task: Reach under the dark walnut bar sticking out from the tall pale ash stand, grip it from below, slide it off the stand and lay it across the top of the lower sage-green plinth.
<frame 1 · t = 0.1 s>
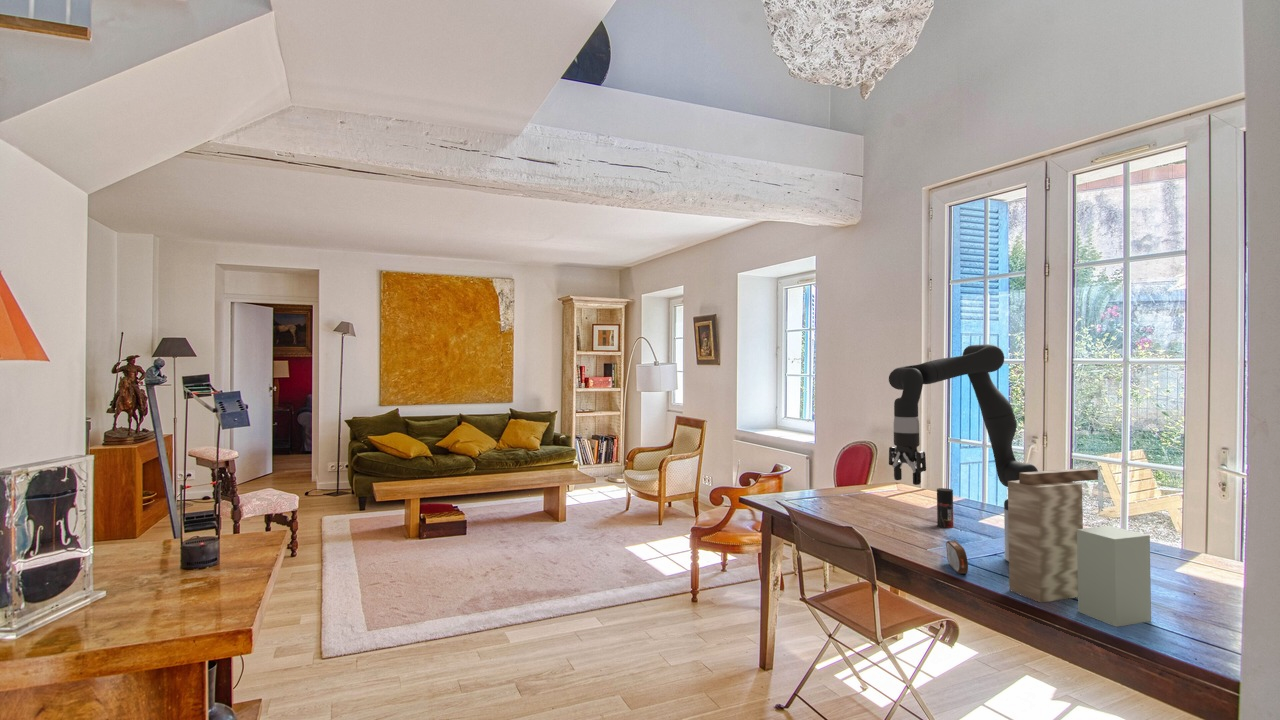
hand: (907, 482, 196), 29 cm above the table, tool pointing down, fingers open, 8 cm apart
deodorant: (945, 526, 255), on the table
green plinth: (1114, 616, 163), on the table
walnut bar: (1059, 481, 181), point 32 cm above the table, touching ash stand
tin: (956, 570, 201), on the table
ash stand: (1046, 593, 180), on the table
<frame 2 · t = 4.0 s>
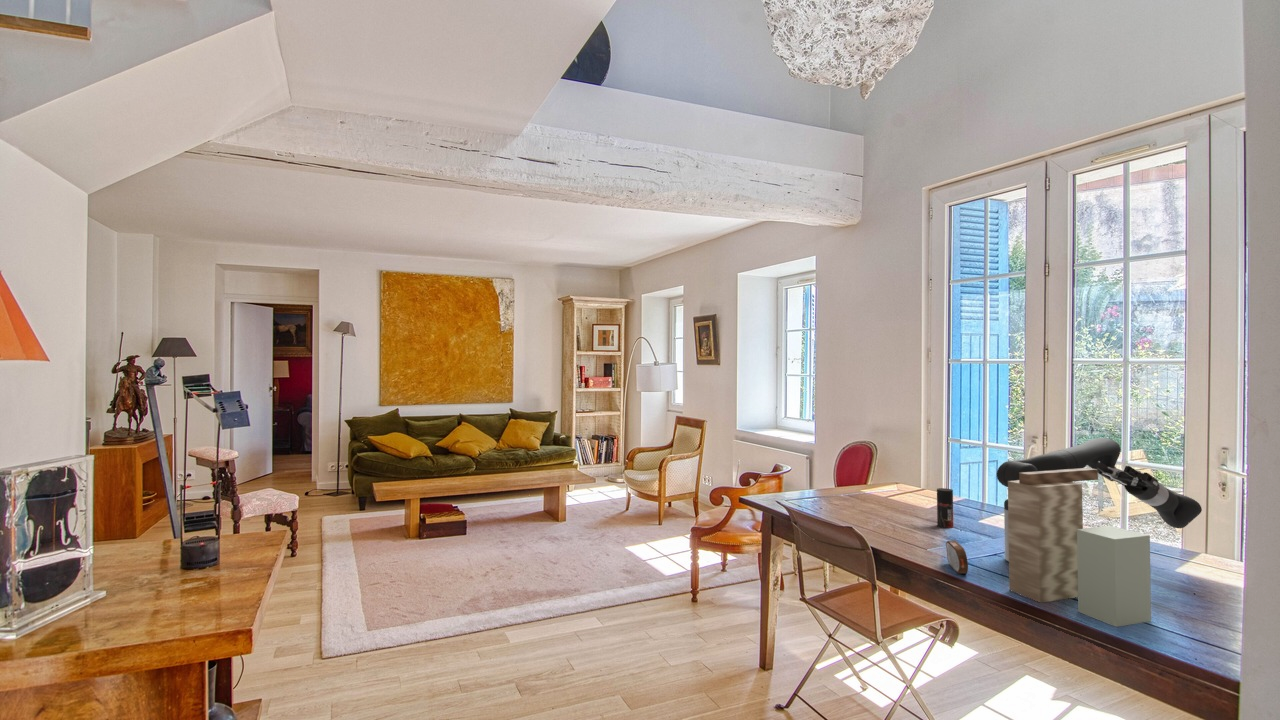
hand: (1111, 466, 188), 35 cm above the table, tool pointing upward, fingers open, 8 cm apart
nothing on the table moved.
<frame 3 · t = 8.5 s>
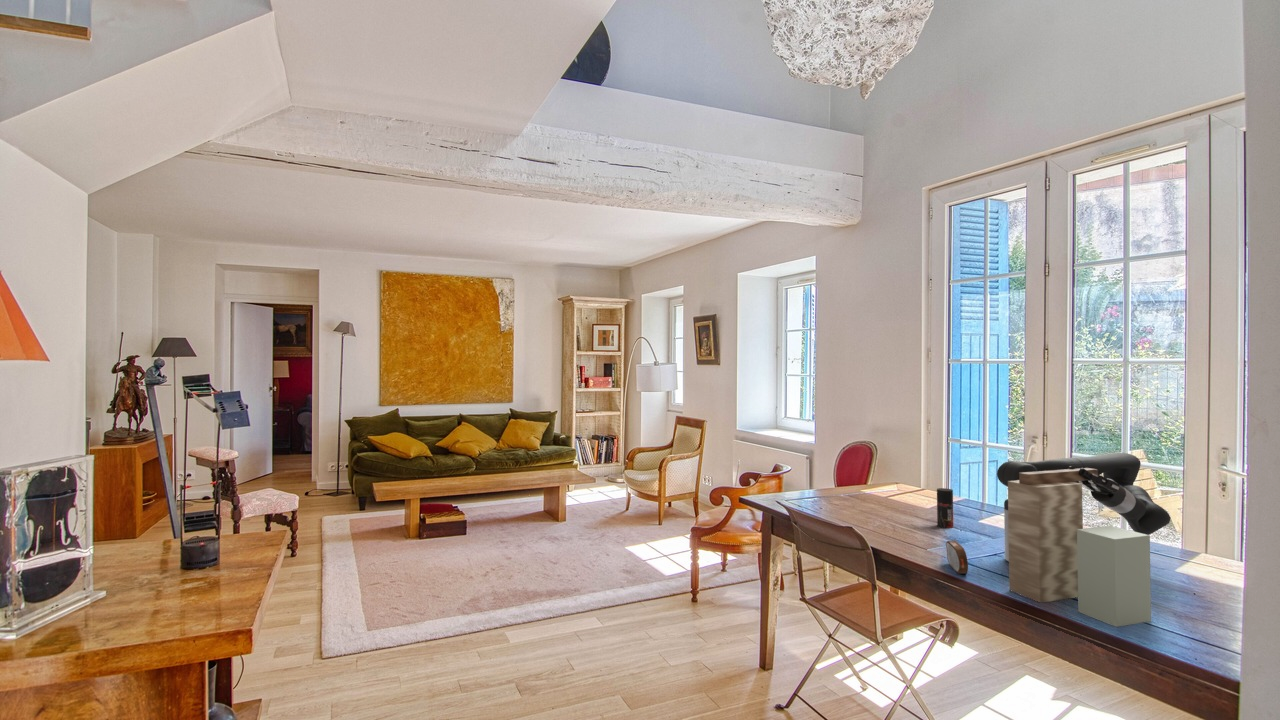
hand: (1074, 470, 183), 35 cm above the table, tool pointing upward, fingers closed on walnut bar, 3 cm apart
walnut bar: (1059, 481, 181), point 32 cm above the table, touching ash stand, gripper
everything else where it was.
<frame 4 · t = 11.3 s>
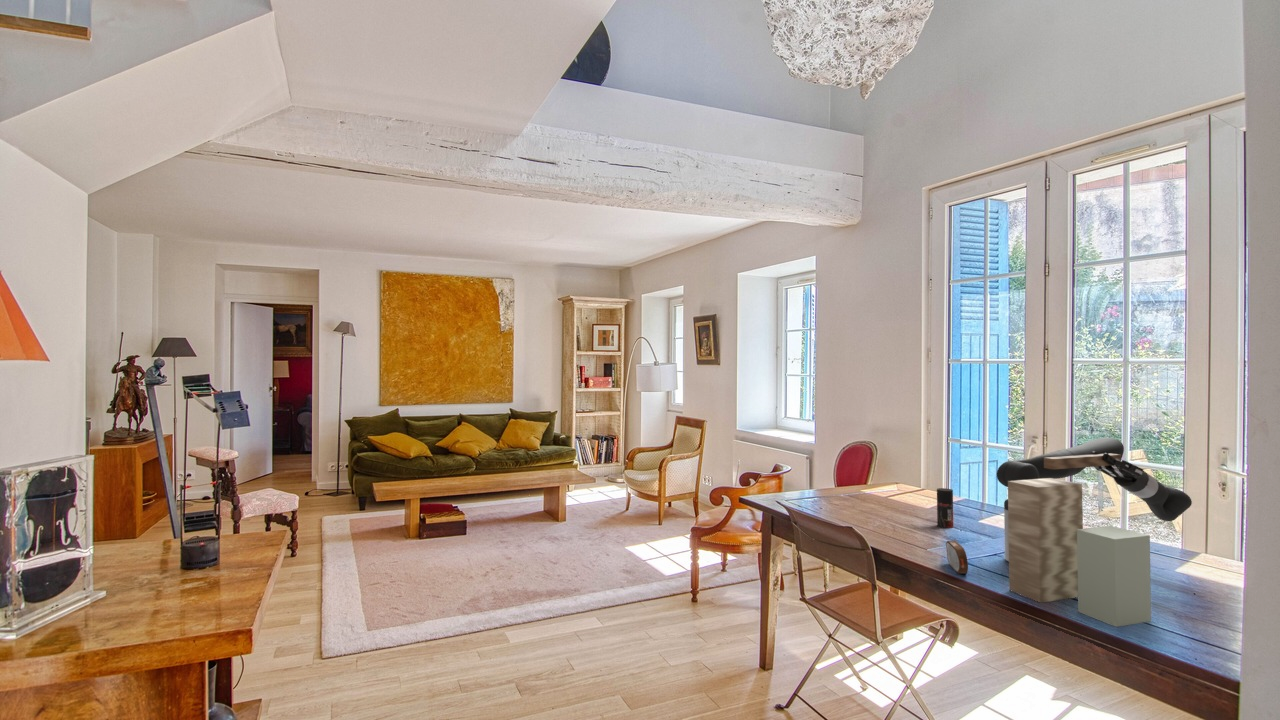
hand: (1098, 455, 186), 39 cm above the table, tool pointing upward, fingers closed on walnut bar, 3 cm apart
walnut bar: (1082, 466, 184), point 36 cm above the table, touching gripper
everything else where it was.
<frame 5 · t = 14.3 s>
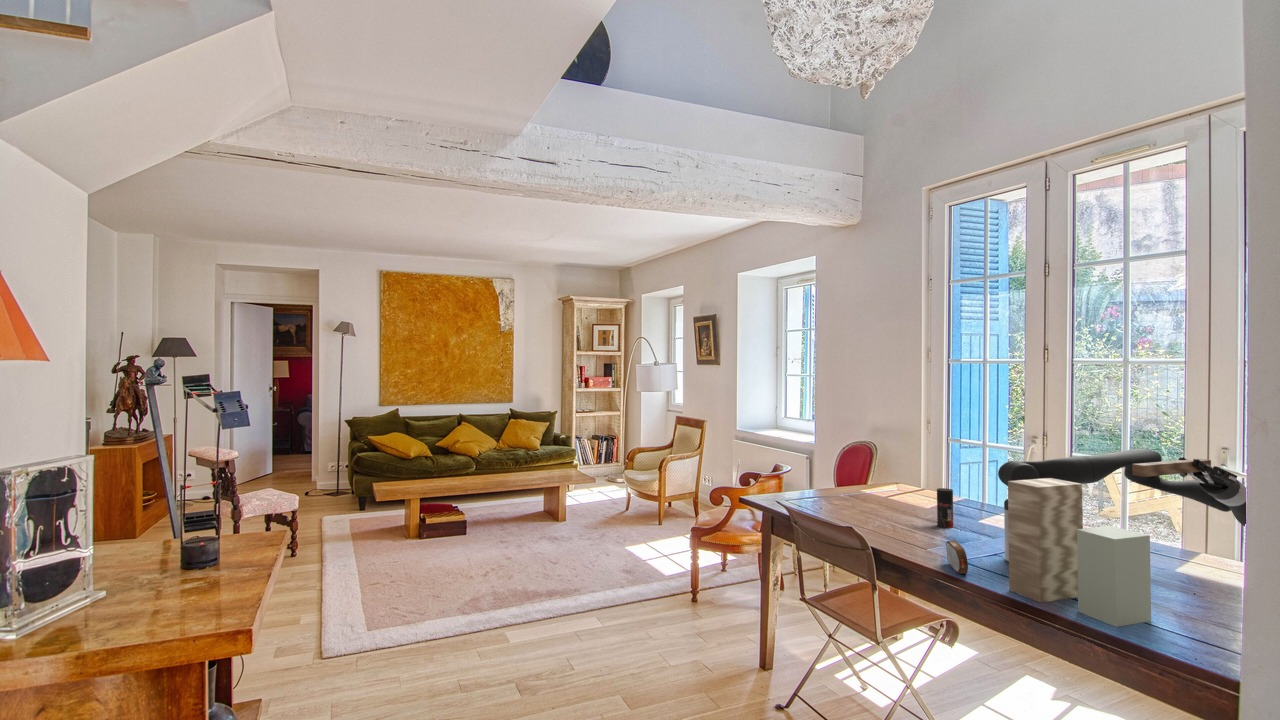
hand: (1187, 461, 173), 39 cm above the table, tool pointing upward, fingers closed on walnut bar, 3 cm apart
walnut bar: (1172, 472, 171), point 36 cm above the table, touching gripper
everything else where it was.
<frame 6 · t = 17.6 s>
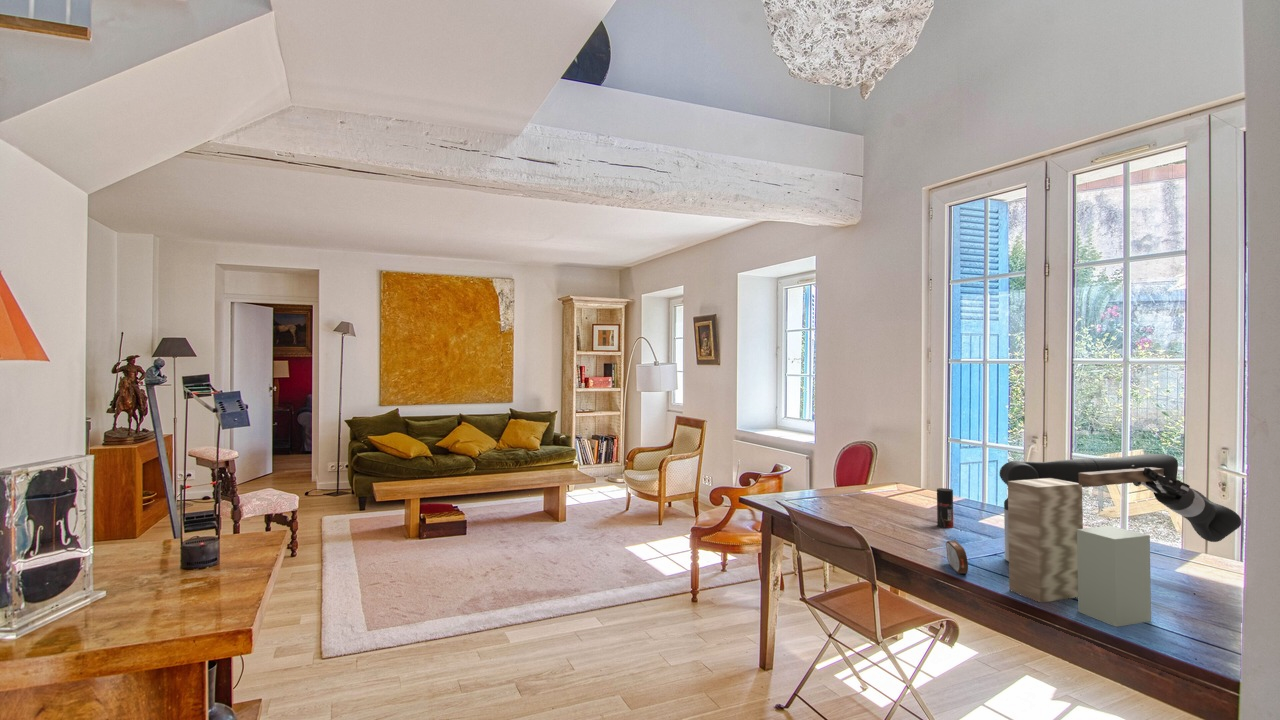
hand: (1138, 469, 166), 38 cm above the table, tool pointing upward, fingers closed on walnut bar, 3 cm apart
walnut bar: (1121, 482, 164), point 35 cm above the table, touching gripper
everything else where it was.
when the fingers open (26 cm above the table, at t = 20.3 s): walnut bar drops 1 cm, resting on green plinth.
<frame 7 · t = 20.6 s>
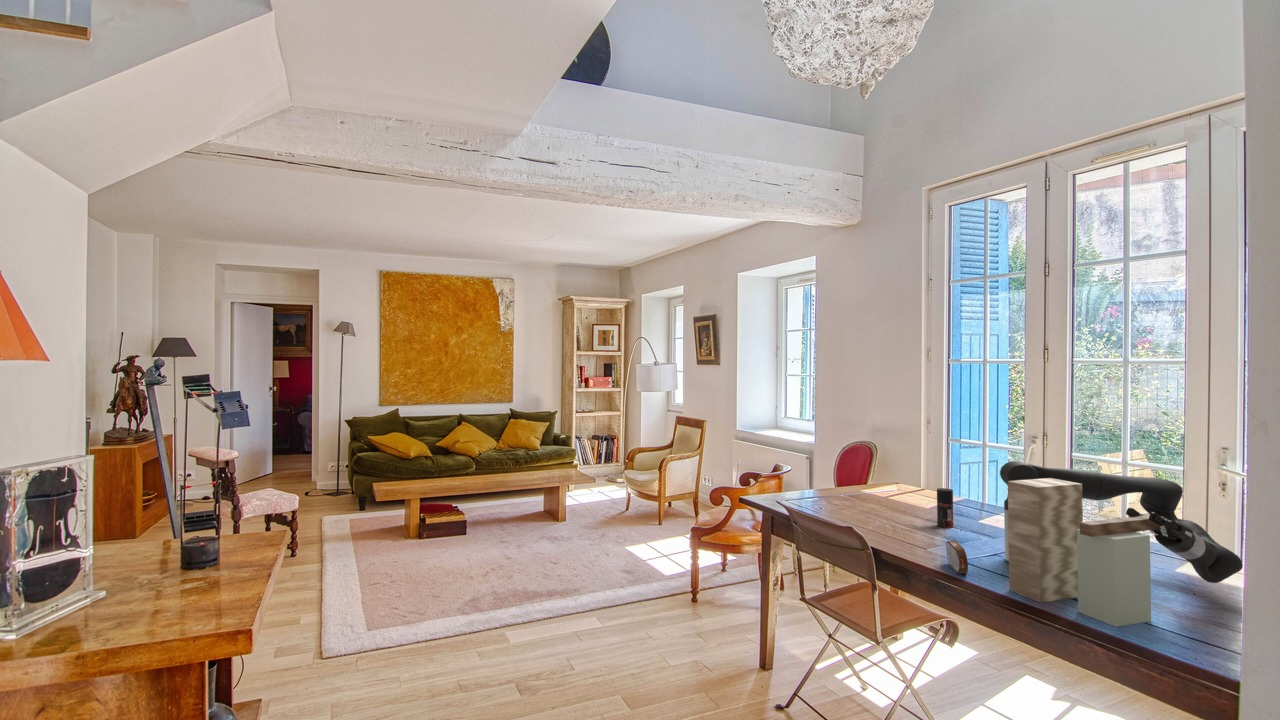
hand: (1139, 513, 166), 26 cm above the table, tool pointing upward, fingers open, 5 cm apart
walnut bar: (1122, 531, 164), point 22 cm above the table, touching green plinth
everything else where it was.
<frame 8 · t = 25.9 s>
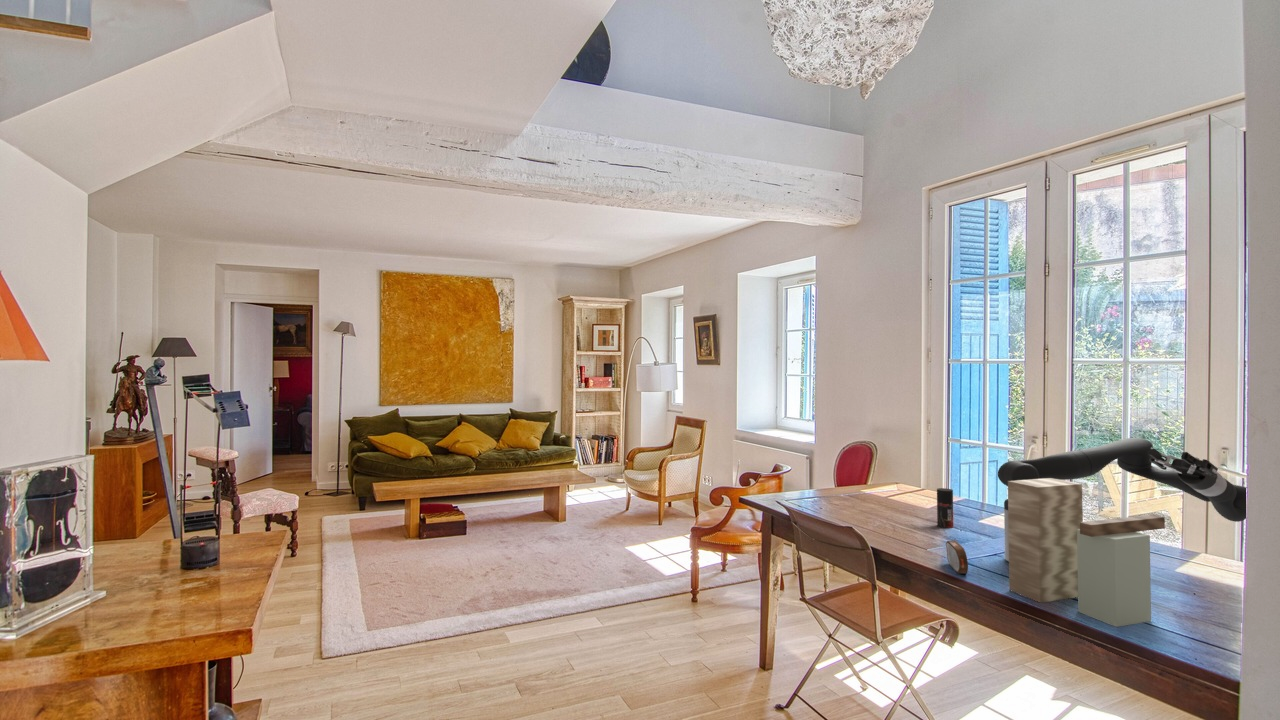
hand: (1166, 452, 176), 41 cm above the table, tool pointing upward, fingers open, 8 cm apart
nothing on the table moved.
at the end: walnut bar inside the target area on the green plinth (0.2 cm from its centre), point 22.0 cm above the green plinth's base; walnut bar touching green plinth; the gripper is holding nothing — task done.
